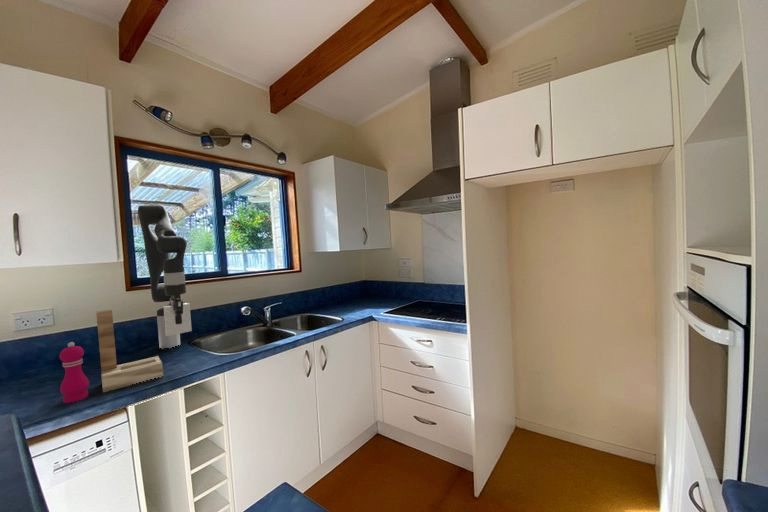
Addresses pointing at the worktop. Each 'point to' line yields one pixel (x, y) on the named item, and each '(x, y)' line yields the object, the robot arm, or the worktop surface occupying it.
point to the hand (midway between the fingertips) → (178, 323)
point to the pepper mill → (73, 374)
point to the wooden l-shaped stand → (123, 373)
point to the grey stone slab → (170, 321)
